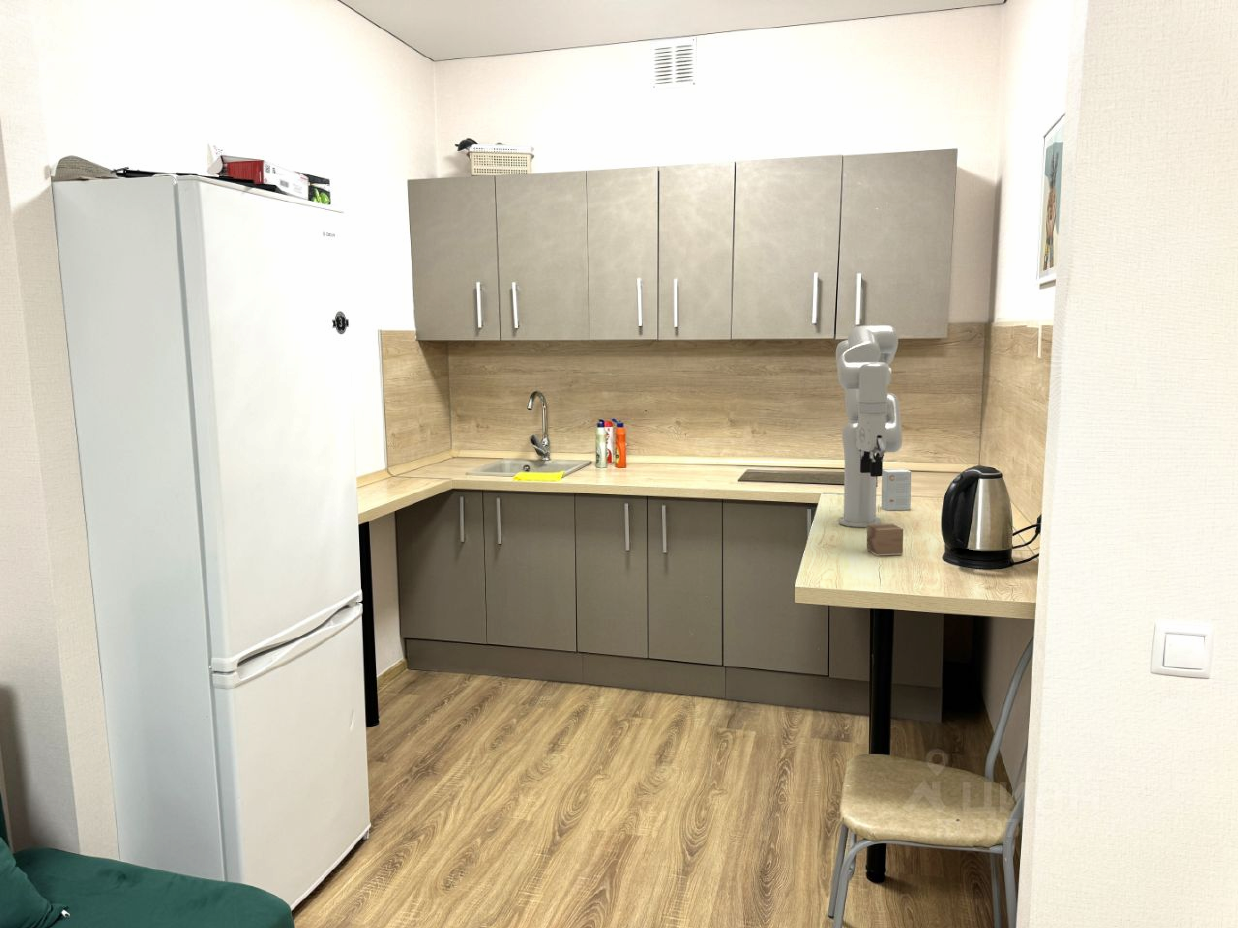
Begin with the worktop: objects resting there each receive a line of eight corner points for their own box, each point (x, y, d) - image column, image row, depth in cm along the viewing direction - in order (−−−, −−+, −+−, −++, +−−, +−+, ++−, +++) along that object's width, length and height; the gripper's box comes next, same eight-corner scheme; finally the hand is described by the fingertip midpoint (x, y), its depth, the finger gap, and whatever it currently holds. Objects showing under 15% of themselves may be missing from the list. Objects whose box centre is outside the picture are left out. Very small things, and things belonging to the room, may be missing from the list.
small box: (904, 506, 297) (905, 468, 295) (910, 510, 291) (911, 471, 289) (880, 507, 297) (881, 469, 295) (886, 510, 291) (887, 471, 289)
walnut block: (866, 550, 237) (867, 524, 236) (891, 549, 238) (892, 523, 237) (877, 556, 230) (877, 530, 229) (902, 555, 231) (903, 528, 230)
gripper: (847, 407, 247) (846, 470, 249) (871, 411, 230) (870, 479, 232) (872, 406, 247) (871, 469, 250) (899, 411, 230) (897, 478, 233)
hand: (871, 473), depth 241 cm, fingers open, 6 cm apart
